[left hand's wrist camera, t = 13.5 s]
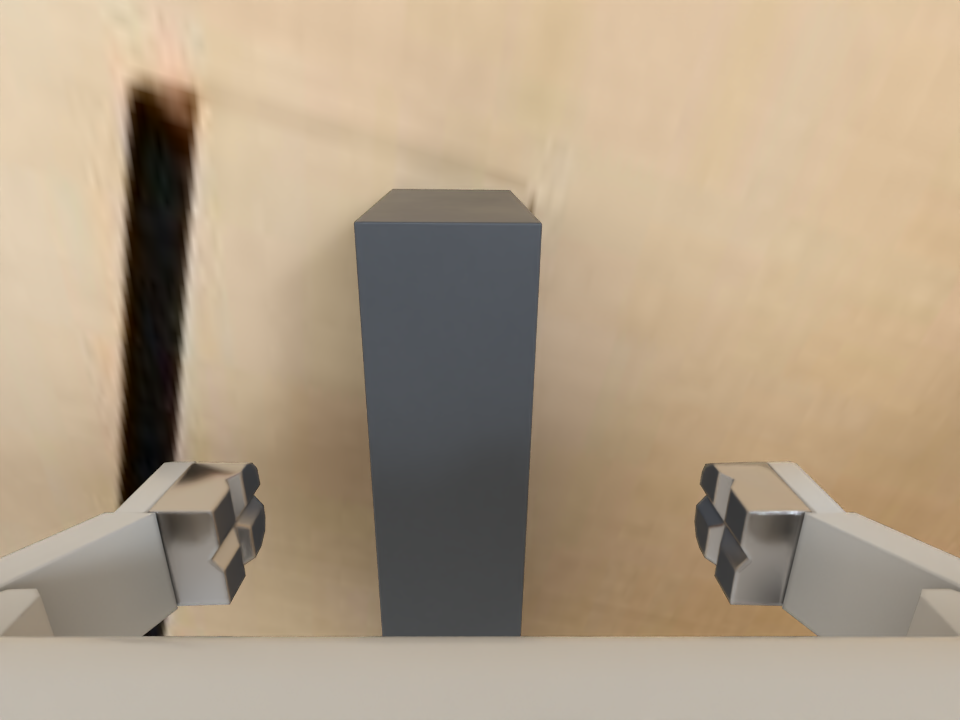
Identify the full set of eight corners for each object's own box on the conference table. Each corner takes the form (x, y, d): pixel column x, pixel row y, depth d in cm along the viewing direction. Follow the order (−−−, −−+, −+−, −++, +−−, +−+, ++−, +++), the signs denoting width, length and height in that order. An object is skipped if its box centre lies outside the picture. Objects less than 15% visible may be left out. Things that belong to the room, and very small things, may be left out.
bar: (391, 189, 23) (353, 221, 14) (510, 190, 23) (542, 222, 14) (413, 671, 33) (397, 860, 24) (495, 669, 33) (509, 856, 24)
